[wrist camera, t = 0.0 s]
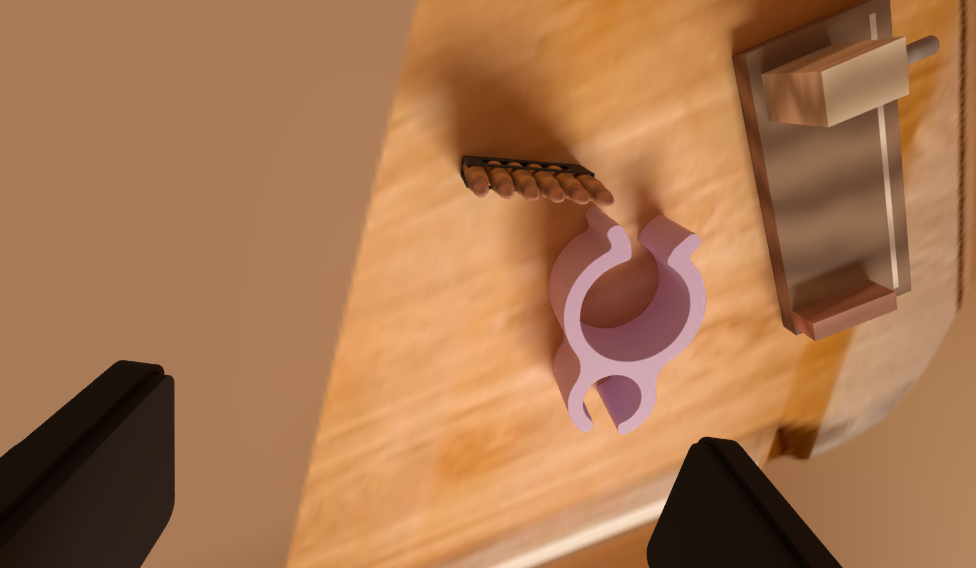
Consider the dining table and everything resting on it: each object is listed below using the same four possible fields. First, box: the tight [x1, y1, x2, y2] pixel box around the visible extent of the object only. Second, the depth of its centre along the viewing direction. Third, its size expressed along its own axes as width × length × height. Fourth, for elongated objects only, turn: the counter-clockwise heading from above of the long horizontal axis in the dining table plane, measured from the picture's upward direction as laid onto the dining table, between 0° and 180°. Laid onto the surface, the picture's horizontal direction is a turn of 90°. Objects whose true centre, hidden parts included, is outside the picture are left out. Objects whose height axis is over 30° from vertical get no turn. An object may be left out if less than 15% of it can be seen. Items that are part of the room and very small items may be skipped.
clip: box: [548, 207, 706, 434], centre depth 47 cm, size 20×12×7 cm, turn 172°
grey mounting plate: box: [732, 0, 911, 341], centre depth 45 cm, size 28×12×5 cm, turn 22°
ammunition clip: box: [461, 156, 614, 206], centre depth 39 cm, size 11×2×12 cm, turn 85°
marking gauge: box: [761, 35, 940, 127], centre depth 38 cm, size 4×10×7 cm, turn 112°
